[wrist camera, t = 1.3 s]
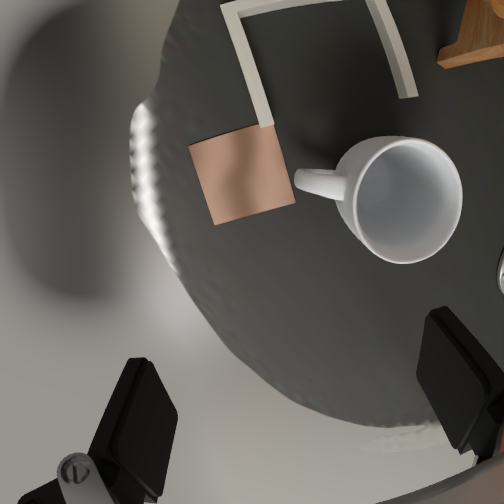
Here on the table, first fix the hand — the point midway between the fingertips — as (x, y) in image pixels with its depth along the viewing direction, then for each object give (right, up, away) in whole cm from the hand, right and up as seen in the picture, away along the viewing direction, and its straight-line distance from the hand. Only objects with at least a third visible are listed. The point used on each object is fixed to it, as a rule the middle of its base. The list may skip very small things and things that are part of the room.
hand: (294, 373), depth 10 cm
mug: (+11, +13, +26) cm, 31 cm away
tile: (-2, +13, +26) cm, 29 cm away
